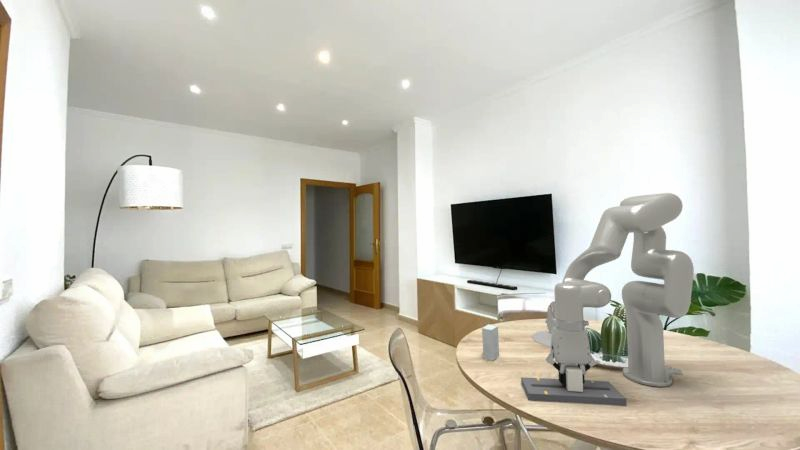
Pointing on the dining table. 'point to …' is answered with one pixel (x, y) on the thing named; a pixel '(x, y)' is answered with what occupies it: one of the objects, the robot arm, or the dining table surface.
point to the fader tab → (573, 378)
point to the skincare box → (490, 342)
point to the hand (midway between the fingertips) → (571, 384)
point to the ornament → (544, 336)
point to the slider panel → (572, 392)
